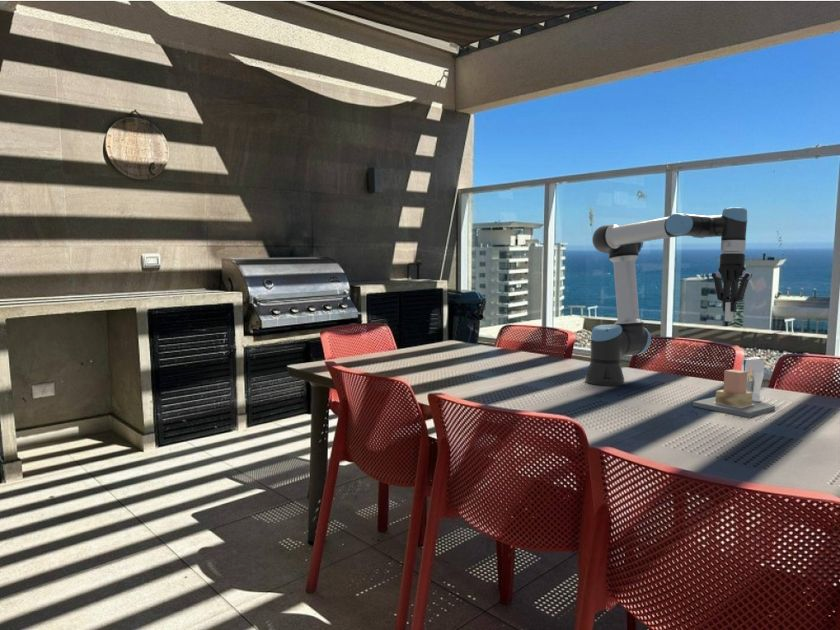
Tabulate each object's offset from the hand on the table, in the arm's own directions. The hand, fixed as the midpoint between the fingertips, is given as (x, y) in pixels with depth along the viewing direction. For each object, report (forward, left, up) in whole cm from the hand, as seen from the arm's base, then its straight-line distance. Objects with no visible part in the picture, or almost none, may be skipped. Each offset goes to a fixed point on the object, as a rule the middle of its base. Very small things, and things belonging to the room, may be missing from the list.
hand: (728, 321), depth 198 cm
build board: (+7, -8, -28) cm, 30 cm away
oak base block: (+7, -8, -27) cm, 29 cm away
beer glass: (+4, +11, -29) cm, 31 cm away
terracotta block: (+7, -8, -23) cm, 25 cm away
